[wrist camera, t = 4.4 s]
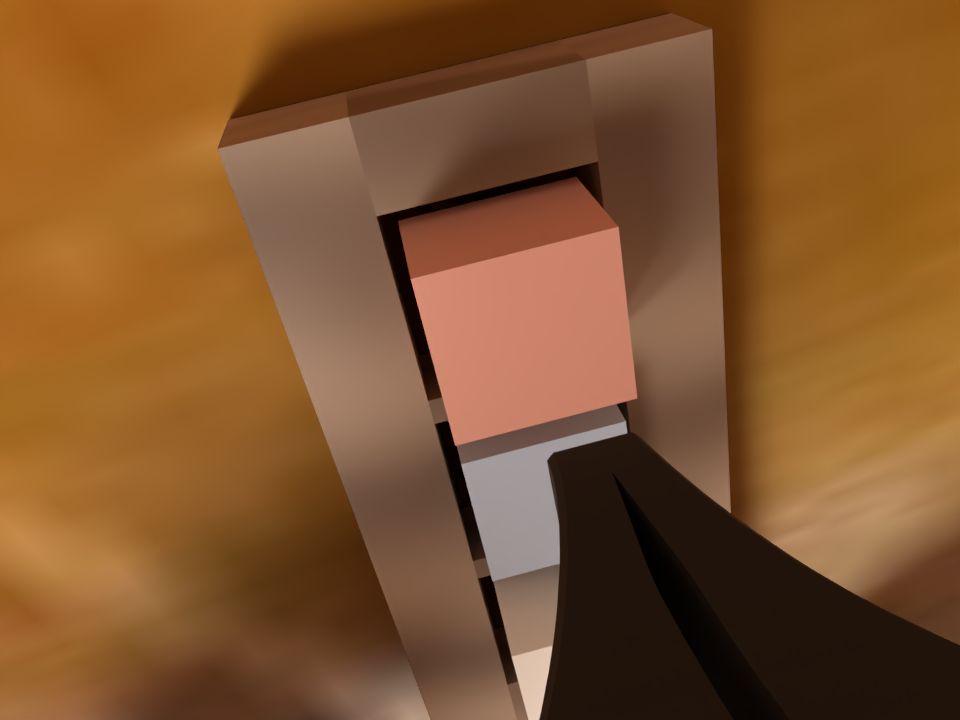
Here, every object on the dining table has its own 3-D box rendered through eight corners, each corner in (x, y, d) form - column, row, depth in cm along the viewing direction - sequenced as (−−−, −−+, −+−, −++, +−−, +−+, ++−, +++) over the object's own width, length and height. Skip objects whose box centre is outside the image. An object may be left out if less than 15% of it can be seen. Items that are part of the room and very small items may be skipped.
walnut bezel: (709, 613, 29) (736, 664, 27) (432, 688, 28) (440, 746, 26) (671, 12, 18) (712, 29, 16) (228, 120, 18) (217, 148, 16)
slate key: (606, 470, 24) (640, 541, 21) (474, 505, 24) (492, 581, 21) (590, 357, 22) (625, 421, 19) (444, 394, 22) (461, 464, 19)
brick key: (596, 331, 20) (637, 398, 17) (437, 372, 20) (455, 445, 17) (576, 176, 18) (618, 226, 15) (397, 221, 18) (410, 279, 15)
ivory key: (636, 626, 26) (671, 709, 23) (514, 659, 26) (536, 746, 23) (624, 535, 24) (661, 616, 21) (491, 571, 23) (511, 656, 21)
